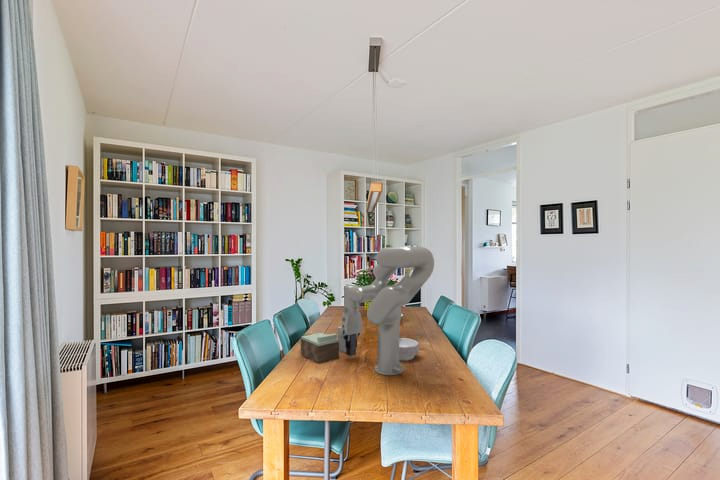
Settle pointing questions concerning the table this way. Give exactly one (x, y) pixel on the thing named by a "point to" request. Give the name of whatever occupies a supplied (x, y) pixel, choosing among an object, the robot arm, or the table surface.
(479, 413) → the table surface
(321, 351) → the box
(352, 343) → the dark grey tall block
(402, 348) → the paper bowls
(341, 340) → the supplement box
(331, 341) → the lid
